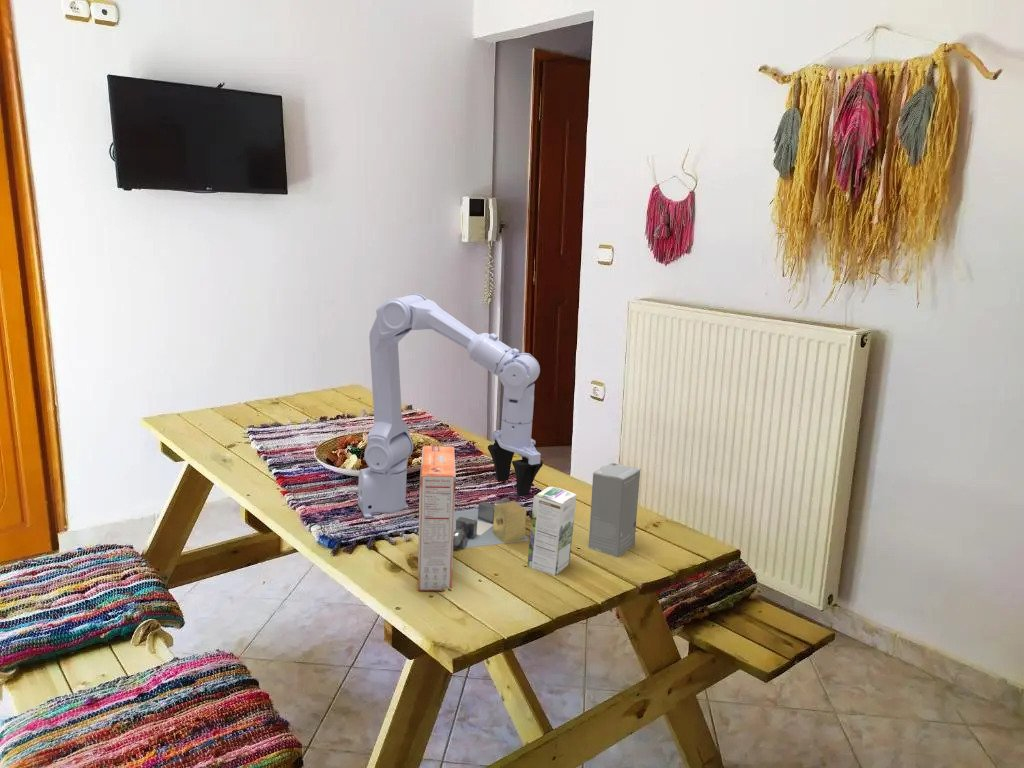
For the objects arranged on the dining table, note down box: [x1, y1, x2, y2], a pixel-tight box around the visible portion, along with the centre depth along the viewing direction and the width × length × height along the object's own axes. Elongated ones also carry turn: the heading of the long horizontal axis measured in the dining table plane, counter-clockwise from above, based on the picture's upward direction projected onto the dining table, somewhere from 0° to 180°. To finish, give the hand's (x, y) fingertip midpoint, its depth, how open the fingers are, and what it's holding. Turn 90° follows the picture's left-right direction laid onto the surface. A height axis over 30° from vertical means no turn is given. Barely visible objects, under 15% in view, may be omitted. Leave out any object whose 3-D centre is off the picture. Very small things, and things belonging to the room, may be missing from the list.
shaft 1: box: [453, 517, 477, 550], centre depth 148 cm, size 7×4×3 cm, turn 161°
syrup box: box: [526, 486, 578, 576], centre depth 141 cm, size 6×6×14 cm
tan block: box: [493, 501, 527, 544], centre depth 152 cm, size 5×4×6 cm
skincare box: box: [588, 462, 641, 558], centre depth 150 cm, size 8×7×16 cm
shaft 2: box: [477, 497, 512, 524], centre depth 161 cm, size 7×4×3 cm, turn 146°
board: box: [453, 508, 530, 550], centre depth 156 cm, size 16×16×1 cm
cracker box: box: [417, 445, 457, 592], centre depth 136 cm, size 14×6×21 cm, turn 5°
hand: (512, 487), depth 152 cm, fingers open, 7 cm apart
